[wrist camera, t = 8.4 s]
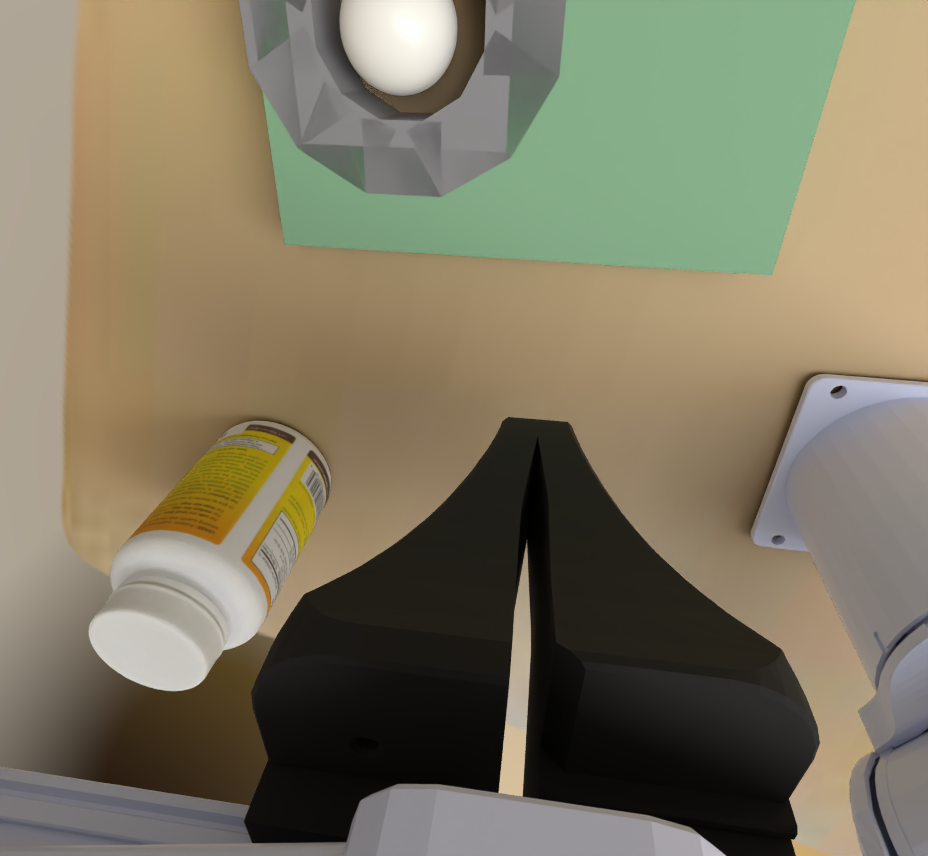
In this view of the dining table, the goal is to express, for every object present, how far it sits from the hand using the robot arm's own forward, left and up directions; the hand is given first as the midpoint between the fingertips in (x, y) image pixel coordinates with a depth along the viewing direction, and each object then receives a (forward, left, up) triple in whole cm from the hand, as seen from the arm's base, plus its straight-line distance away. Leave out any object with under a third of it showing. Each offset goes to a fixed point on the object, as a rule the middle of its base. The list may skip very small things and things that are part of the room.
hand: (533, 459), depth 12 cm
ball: (+5, -8, -9) cm, 13 cm away
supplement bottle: (+12, +9, -11) cm, 18 cm away
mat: (+1, -8, -10) cm, 13 cm away
